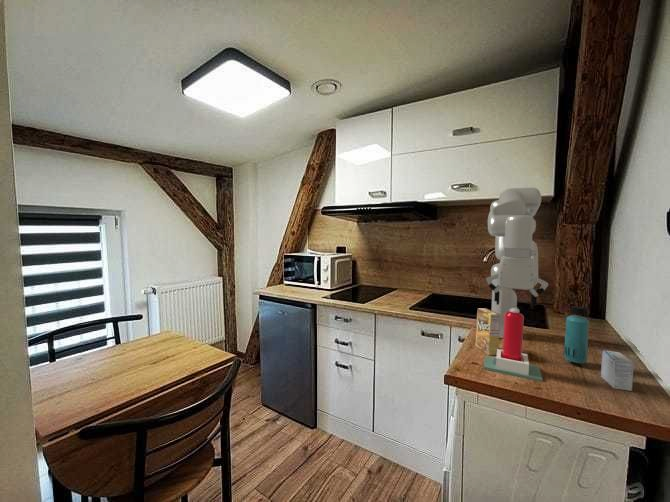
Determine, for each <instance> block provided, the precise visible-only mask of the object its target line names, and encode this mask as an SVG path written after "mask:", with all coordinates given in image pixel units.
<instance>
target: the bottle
mask: <svg viewBox="0 0 670 502" xmlns="http://www.w3.org/2000/svg"><path fill="white" fill-rule="evenodd" d="M520 311H521V310H520V309H519V307H518V306H517V307H515V306H512V307H511V308H509V311H508V312H506V313H505V314H504V333H503V338H502V340H503V341H502V350H503V354H502V358H505V359H510V360H516V361H522V353H523V339H524V337H523V336H524V321H525V317H524V315H523V314H522V313H520Z"/></svg>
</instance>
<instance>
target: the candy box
mask: <svg viewBox="0 0 670 502" xmlns="http://www.w3.org/2000/svg"><path fill="white" fill-rule="evenodd" d="M476 309H477V312H476V331H475V347H477V348H478V349H480V350H481V351H483V352H484V353H486V354H487V356H497V349H499V347H500V345H499V344H500V338H499V333H500V317H501V315H500V314H498V313H496V312H493V311H491V309H489V308H487V307H485V308H481V307H480V308H476Z"/></svg>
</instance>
